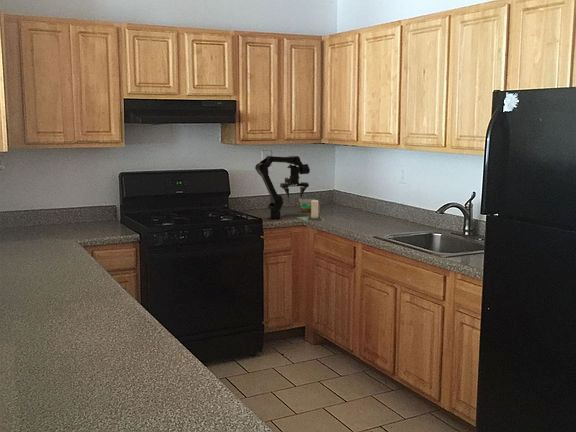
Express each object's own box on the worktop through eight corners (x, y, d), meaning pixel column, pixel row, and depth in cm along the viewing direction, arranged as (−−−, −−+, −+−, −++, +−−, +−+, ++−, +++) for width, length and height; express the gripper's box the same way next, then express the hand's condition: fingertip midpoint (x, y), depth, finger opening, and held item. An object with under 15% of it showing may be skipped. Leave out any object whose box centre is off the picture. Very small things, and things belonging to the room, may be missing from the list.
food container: (296, 213, 461) (296, 198, 459) (299, 211, 467) (299, 197, 465) (313, 214, 457) (314, 199, 456) (316, 212, 463) (316, 198, 462)
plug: (311, 219, 429) (311, 201, 427) (311, 218, 433) (311, 200, 431) (319, 219, 428) (319, 201, 426) (319, 218, 433) (319, 200, 431)
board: (306, 222, 423) (306, 219, 422) (296, 218, 438) (296, 215, 437) (326, 221, 428) (326, 218, 427) (315, 217, 443) (315, 214, 443)
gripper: (302, 173, 450) (302, 195, 452) (277, 174, 443) (277, 197, 446) (309, 174, 440) (309, 197, 442) (283, 175, 433) (283, 199, 435)
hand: (294, 197), depth 442 cm, fingers open, 9 cm apart
